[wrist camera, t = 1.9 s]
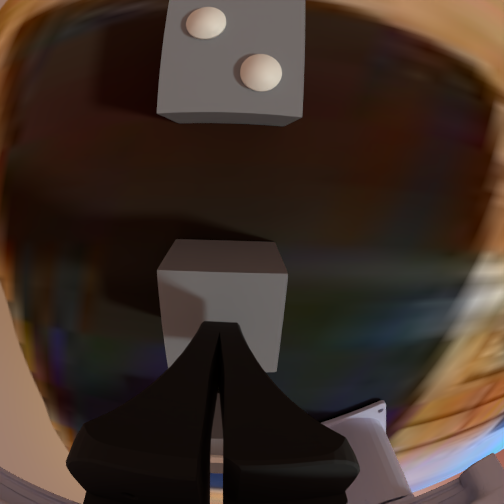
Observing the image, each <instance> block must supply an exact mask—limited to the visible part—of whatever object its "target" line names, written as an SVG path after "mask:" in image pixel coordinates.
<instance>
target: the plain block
mask: <svg viewBox="0 0 504 504" xmlns="http://www.w3.org/2000/svg"><path fill="white" fill-rule="evenodd" d="M157 279H158V290H159V300H160V310H161V319H162V327H163V335H164V343H165V350H166V357H167V363H168V368H169V367H170V366H171V365H172V364H173V363H174V362H175V361H176V359H177V358H178V357H179V356H180V355H181V354H182V352H183V351H184V350H185V348H186V347H187V346H188V344H189V343H190V342H191V340H192V339H193V337H194V336H195V334H196V332H197V331H198V329H199V327H200V325H201V323H202V322H204V321H215V322H236V323H238V324H239V325H240V328H241V331H242V333H243V336H244V338H245V340H246V342H247V344H248V346H249V348H250V350H251V351H252V353H253V355H254V356H255V358H256V360H257V361H258V363H259V364H260V365H261V367H262V368H263V370H264V371H265V372H276V371H277V364H278V356H279V348H280V341H281V333H282V324H283V316H284V307H285V298H286V289H287V280H288V272H287V270H286V267H285V265H284V263H283V260H282V258H281V255H280V253H279V250H278V248H277V246H276V243H275V242H261V241H228V240H191V239H176V240H175V242H174V243H173V245H172V246H171V248H170V249H169V251H168V253H167V254H166V256H165V257H164V259H163V261H162V262H161V264H160V266H159V267H158V269H157Z"/></svg>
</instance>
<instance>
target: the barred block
mask: <svg viewBox="0 0 504 504" xmlns="http://www.w3.org/2000/svg"><path fill="white" fill-rule="evenodd" d="M210 473H223V429H222V418H221V406H220V394H219V393H218V394H217V400H216V407H215V414H214V420H213V427H212V435H211V456H210Z"/></svg>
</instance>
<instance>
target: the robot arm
mask: <svg viewBox="0 0 504 504" xmlns="http://www.w3.org/2000/svg"><path fill="white" fill-rule="evenodd" d="M218 387H219V394H220V406H221V418H222V429H223V504H504V469H503V467H502V466H501V464H500V463H499V461H498V459H497V457H496V456H495V454H494V453H491V454H490V455H488V456H486V457H485V458H483V459H481V460H479V461H478V462H476V463H474V464H473V465H471V466H470V467H469V468H467V469H466V470H465V471H464V472H463V473H462V474H461V475H460V477H459V478H457V479H455V480H453V481H451V482H449V483H447V484H445V485H443V486H440V487H438V488H436V489H434V490H431V491H429V492H427V493H424V494H422V495H419V496H417V497H414V495H413V494H412V492H411V489H410V487H409V485H408V482H407V480H406V478H405V475H404V473H403V471H402V469H401V466H400V464H399V462H398V460H397V457H396V455H395V453H394V451H393V448H392V446H391V444H390V442H389V440H388V437H387V435H386V404H385V402H384V401H378V402H375V403H373V404H371V405H368V406H366V407H363V408H361V409H358V410H355V411H353V412H350V413H347V414H345V415H342V416H339V417H336V418H333V419H330V420H327V421H324V422H321V423H320V422H318V421H317V420H315V419H314V418H312V417H311V416H310V415H308V414H307V413H306V412H304V411H303V410H302V409H301V408H300V407H298V406H297V405H296V404H295V403H294V402H292V401H291V400H290V399H289V398H288V397H287V396H286V395H285V394H284V393H283V392H282V391H281V390H280V389H279V388H278V387H277V386H276V385H275V383H274V382H273V381H272V380H271V379H270V378H269V376H268V375H267V374H266V372H265V371H264V370H263V368H262V367H261V365H260V364H259V363H258V361H257V360H256V358H255V356H254V355H253V353H252V351H251V350H250V348H249V346H248V344H247V342H246V340H245V338H244V336H243V333H242V331H241V328H240V325H239V324H238V323H236V322H215V321H204V322H202V323H201V325H200V327H199V329H198V331H197V332H196V334H195V336H194V337H193V339H192V340H191V342H190V343H189V344H188V346H187V347H186V348H185V350H184V351H183V352H182V354H181V355H180V356H179V357H178V358H177V359H176V361H175V362H174V363H173V364H172V365H171V366H170V367H169V368H168V369H167V370H166V371H165V372H164V373H163V374H162V375H161V376H160V377H159V378H158V379H157V380H156V381H155V382H154V383H152V384H151V385H150V386H149V387H147V388H146V389H145V390H144V391H142V392H141V393H140V394H138V395H137V396H136V397H134V398H133V399H131V400H129V401H128V402H126V403H125V404H123V405H121V406H120V407H118V408H116V409H115V410H113V411H111V412H109V413H107V414H105V415H102V416H100V417H98V418H96V419H93V420H91V421H89V422H86V423H84V424H83V426H82V428H81V429H80V431H79V433H78V434H77V436H76V438H75V440H74V442H73V445H72V447H71V450H70V452H69V455H68V457H67V460H66V466H67V468H68V469H69V471H70V473H71V474H72V475H73V477H74V478H75V479H76V480H77V481H78V483H79V484H80V485H81V486H82V487H83V488H84V489H85V490H86V495H85V499H84V502H83V504H210V456H211V435H212V427H213V420H214V414H215V407H216V400H217V394H218ZM0 504H79V503H77V502H74V501H71V500H69V499H66V498H63V497H61V496H58V495H56V494H54V493H51V492H49V491H47V490H44V489H42V488H40V487H38V486H35V485H33V484H31V483H29V482H27V481H25V480H23V479H21V478H19V477H17V476H16V475H14V474H12V473H10V472H8V471H6V470H5V469H3V468H1V467H0Z"/></svg>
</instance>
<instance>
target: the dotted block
mask: <svg viewBox="0 0 504 504" xmlns="http://www.w3.org/2000/svg"><path fill="white" fill-rule="evenodd" d="M304 56H305V0H169V6H168V12H167V18H166V25H165V32H164V39H163V47H162V56H161V65H160V75H159V87H158V100H157V114H159V115H161V116H164V117H166V118H168V119H170V120H172V121H174V122H177V123H235V124H257V125H272V126H286V125H288V124H290V123H292V122H294V121H296V120H298V119H300V118H302V111H303V88H304Z"/></svg>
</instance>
